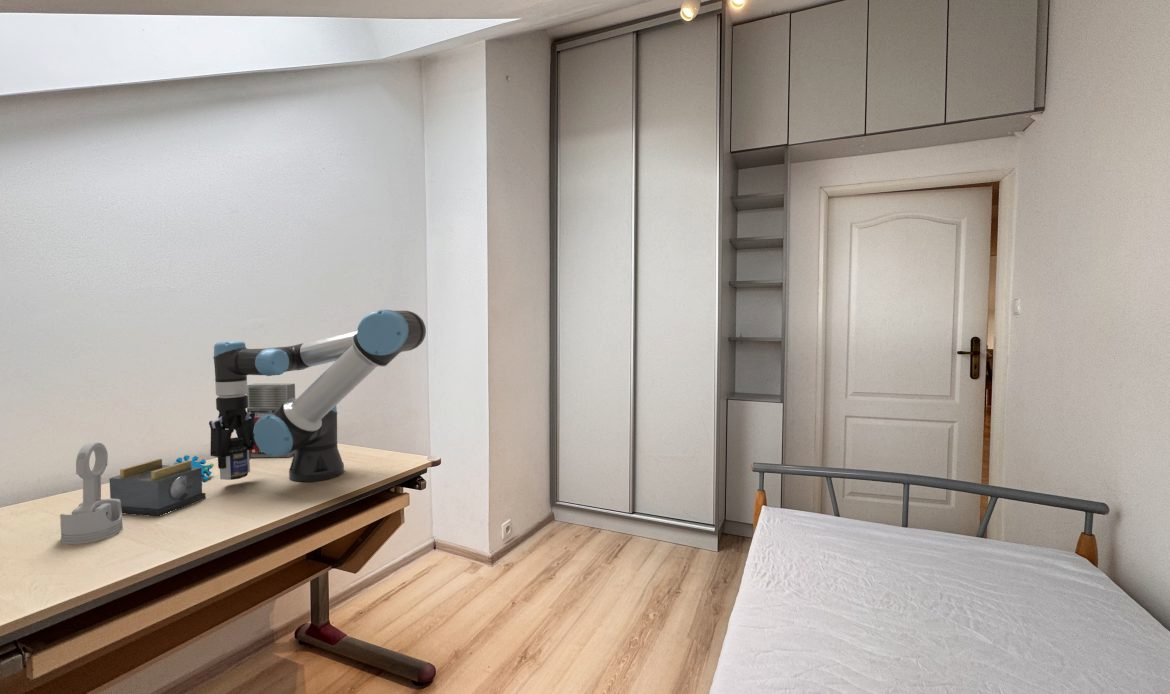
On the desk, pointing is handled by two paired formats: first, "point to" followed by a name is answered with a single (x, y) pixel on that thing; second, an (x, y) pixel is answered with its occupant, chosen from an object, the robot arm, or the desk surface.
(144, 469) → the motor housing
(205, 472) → the blue spiky rounded piece
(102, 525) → the engine component
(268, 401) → the grey cassette player
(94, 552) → the desk surface
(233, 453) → the pill bottle
